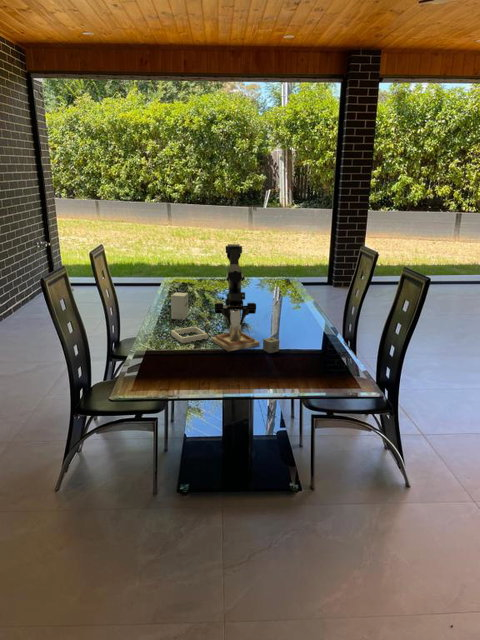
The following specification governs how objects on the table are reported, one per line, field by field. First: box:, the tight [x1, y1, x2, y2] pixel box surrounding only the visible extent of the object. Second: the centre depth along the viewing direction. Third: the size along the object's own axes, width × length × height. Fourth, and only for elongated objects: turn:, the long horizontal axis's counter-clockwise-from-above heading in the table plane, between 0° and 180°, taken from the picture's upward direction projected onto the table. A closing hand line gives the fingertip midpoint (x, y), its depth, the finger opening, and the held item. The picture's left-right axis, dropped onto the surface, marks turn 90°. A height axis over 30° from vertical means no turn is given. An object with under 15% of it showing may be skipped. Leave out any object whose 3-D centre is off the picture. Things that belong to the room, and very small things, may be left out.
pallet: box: [211, 331, 261, 352], centre depth 230 cm, size 16×16×3 cm
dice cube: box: [262, 336, 280, 354], centre depth 221 cm, size 5×5×5 cm
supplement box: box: [170, 292, 189, 321], centre depth 265 cm, size 7×7×13 cm
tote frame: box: [170, 326, 208, 344], centre depth 236 cm, size 13×13×2 cm
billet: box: [229, 309, 242, 340], centre depth 227 cm, size 5×5×13 cm
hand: (235, 324), depth 226 cm, fingers closed on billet, 5 cm apart
